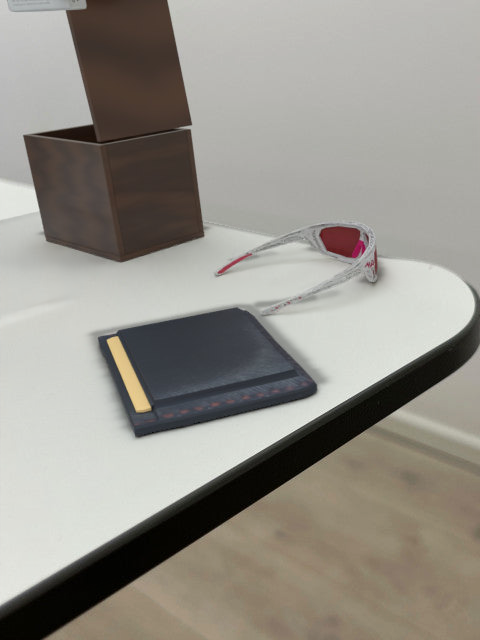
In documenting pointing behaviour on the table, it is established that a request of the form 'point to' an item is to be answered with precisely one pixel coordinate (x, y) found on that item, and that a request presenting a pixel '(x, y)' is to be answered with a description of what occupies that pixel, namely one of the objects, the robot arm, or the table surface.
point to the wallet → (200, 369)
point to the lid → (129, 67)
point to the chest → (116, 190)
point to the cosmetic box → (45, 5)
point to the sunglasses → (326, 253)
